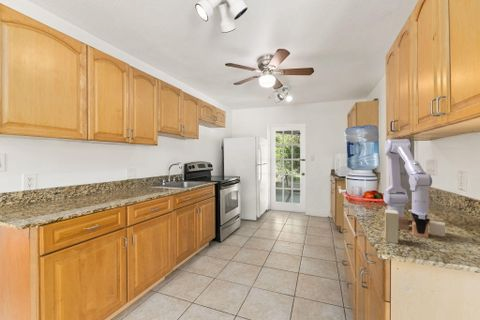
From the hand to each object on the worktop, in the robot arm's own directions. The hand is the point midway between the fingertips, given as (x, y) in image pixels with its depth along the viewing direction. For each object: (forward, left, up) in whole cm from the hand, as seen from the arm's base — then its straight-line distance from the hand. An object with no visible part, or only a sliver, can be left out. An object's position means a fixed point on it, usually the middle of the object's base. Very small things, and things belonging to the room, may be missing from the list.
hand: (420, 231), depth 95 cm
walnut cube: (-8, -7, -2) cm, 10 cm away
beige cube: (-6, +6, -2) cm, 9 cm away
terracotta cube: (0, 0, -2) cm, 2 cm away
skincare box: (+15, -11, -2) cm, 18 cm away
